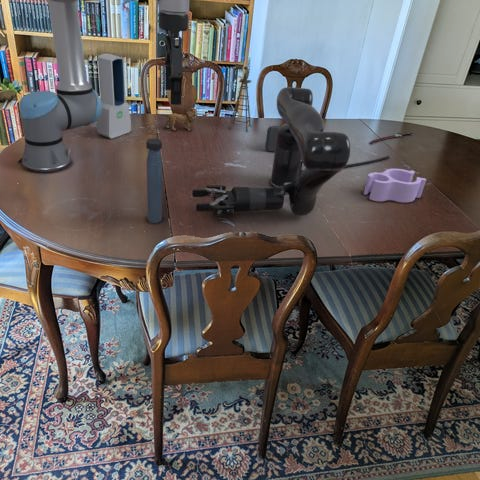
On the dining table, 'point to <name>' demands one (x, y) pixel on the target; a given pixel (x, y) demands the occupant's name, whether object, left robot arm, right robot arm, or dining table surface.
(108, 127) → the electronic device
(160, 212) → the bottle
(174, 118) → the lion figurine
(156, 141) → the cap
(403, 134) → the sword
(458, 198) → the dining table surface
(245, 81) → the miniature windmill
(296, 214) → the right robot arm
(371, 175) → the clip
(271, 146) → the handheld gaming console
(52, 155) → the left robot arm
